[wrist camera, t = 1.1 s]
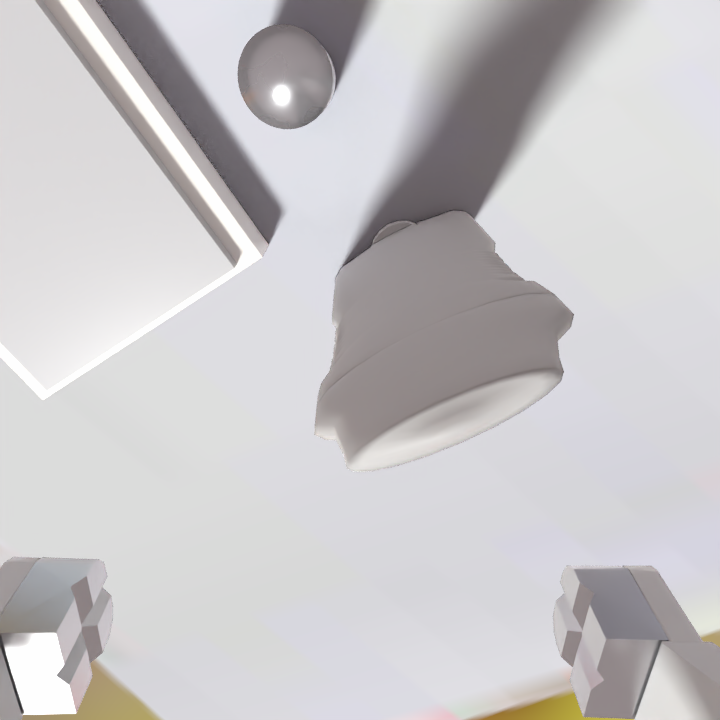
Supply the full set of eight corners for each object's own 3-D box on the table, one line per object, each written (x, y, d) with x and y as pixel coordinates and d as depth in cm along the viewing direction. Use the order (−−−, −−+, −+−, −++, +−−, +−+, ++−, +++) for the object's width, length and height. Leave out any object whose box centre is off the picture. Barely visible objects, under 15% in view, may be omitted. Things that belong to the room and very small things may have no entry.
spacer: (306, 15, 33) (297, 2, 28) (351, 92, 35) (350, 94, 29) (239, 65, 34) (218, 61, 29) (286, 137, 36) (274, 147, 30)
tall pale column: (464, 183, 37) (594, 301, 17) (489, 241, 39) (636, 412, 19) (315, 261, 39) (275, 449, 19) (345, 314, 41) (337, 538, 21)
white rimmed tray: (9, -123, 30) (-38, -150, 27) (268, 245, 38) (260, 261, 35) (-216, 86, 34) (-284, 86, 31) (62, 379, 42) (35, 407, 39)
